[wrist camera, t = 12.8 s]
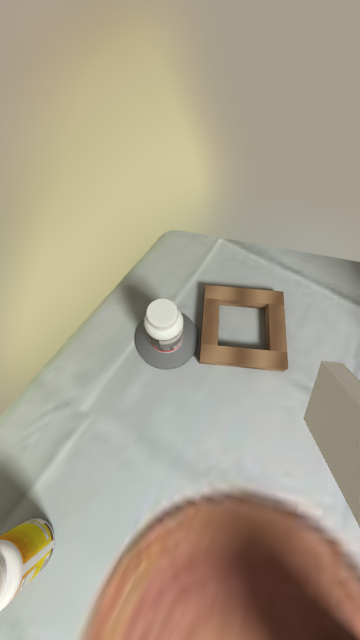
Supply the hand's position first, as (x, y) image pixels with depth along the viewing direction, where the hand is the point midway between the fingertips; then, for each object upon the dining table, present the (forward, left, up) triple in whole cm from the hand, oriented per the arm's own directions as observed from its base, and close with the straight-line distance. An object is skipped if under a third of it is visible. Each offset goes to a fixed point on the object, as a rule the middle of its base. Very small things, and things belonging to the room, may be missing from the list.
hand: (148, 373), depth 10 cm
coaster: (+2, -12, -30) cm, 32 cm away
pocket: (-10, -15, -30) cm, 35 cm away
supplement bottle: (+15, +16, -30) cm, 37 cm away
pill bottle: (+2, -12, -29) cm, 32 cm away
